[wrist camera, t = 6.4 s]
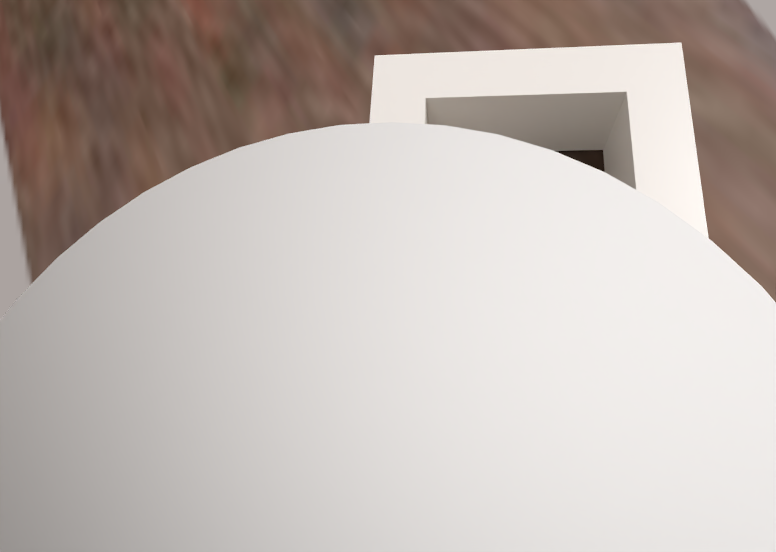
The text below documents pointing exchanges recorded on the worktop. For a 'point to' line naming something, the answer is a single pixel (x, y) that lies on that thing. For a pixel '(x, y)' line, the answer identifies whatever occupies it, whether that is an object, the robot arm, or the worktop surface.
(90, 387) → the white banded cylinder
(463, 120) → the clip bracket
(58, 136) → the worktop surface
